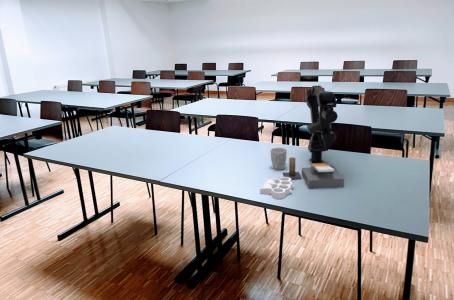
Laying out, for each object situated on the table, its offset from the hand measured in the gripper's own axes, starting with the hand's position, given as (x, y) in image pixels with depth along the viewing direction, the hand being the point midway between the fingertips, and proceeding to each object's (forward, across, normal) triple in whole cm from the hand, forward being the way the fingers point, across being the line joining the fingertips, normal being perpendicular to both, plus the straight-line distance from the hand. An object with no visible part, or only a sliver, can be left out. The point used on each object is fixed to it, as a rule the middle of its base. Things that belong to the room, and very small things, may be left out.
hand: (324, 147), depth 174 cm
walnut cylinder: (+12, +5, -17) cm, 21 cm away
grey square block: (+12, +12, -4) cm, 18 cm away
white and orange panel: (+6, +12, -4) cm, 14 cm away
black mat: (+12, +5, -17) cm, 22 cm away
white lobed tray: (+13, +20, -26) cm, 35 cm away
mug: (+13, -9, -21) cm, 26 cm away
